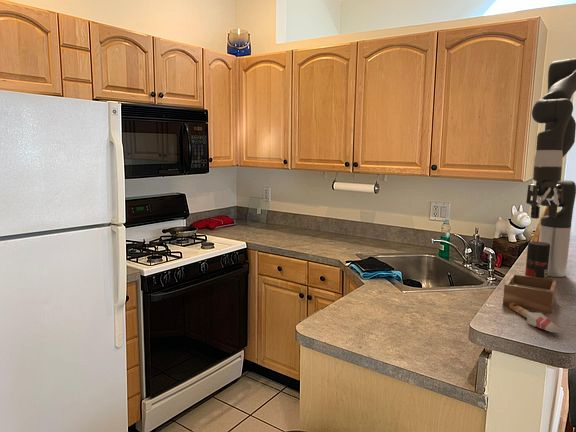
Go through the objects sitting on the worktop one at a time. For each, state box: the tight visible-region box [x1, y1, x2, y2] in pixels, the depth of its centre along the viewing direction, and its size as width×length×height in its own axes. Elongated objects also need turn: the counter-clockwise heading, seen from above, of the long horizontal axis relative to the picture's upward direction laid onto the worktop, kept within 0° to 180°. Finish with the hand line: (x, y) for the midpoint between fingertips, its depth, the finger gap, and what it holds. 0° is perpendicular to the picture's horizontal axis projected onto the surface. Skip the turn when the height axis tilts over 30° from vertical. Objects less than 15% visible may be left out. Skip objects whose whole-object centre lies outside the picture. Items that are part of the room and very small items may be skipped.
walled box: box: [502, 273, 557, 315], centre depth 126 cm, size 14×12×6 cm
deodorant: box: [524, 240, 550, 279], centre depth 137 cm, size 6×6×15 cm
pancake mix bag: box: [531, 206, 549, 242], centre depth 179 cm, size 7×19×28 cm, turn 143°
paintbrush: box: [508, 303, 564, 333], centre depth 112 cm, size 4×3×20 cm
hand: (543, 218), depth 138 cm, fingers open, 8 cm apart
